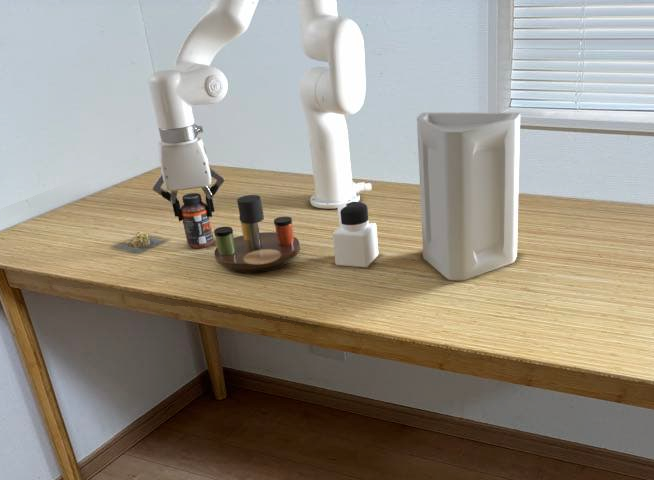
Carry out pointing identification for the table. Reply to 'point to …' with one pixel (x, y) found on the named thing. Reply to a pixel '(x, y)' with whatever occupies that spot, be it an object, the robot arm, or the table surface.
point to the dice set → (139, 243)
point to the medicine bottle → (355, 236)
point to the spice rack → (255, 239)
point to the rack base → (260, 268)
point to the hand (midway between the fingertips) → (195, 216)
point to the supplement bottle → (196, 221)
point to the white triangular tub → (469, 191)
